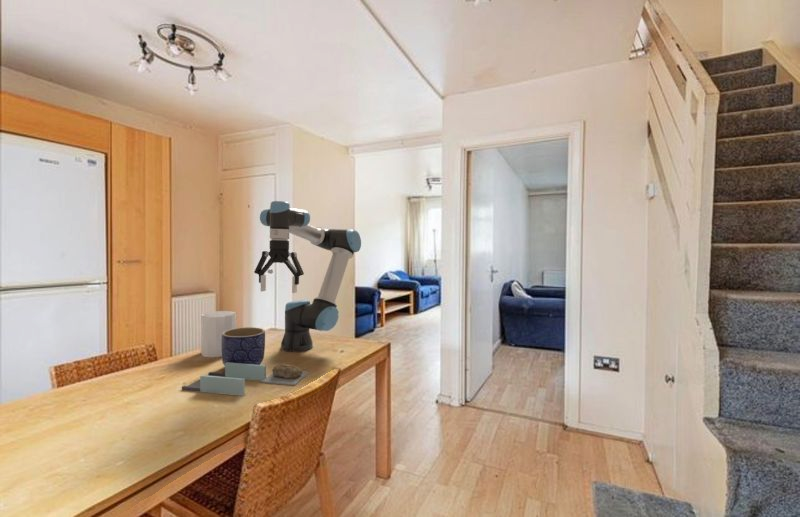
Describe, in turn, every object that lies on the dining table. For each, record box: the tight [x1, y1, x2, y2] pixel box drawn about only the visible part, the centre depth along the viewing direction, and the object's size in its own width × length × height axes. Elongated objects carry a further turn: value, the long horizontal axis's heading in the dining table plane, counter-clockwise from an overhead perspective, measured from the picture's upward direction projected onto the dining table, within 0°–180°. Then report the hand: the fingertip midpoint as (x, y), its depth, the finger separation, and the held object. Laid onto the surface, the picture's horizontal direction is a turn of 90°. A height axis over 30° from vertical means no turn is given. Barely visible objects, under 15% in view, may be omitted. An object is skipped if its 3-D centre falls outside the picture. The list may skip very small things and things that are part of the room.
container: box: [200, 310, 237, 358], centre depth 172 cm, size 14×14×18 cm
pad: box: [261, 371, 310, 387], centre depth 143 cm, size 13×13×1 cm
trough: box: [181, 362, 267, 397], centre depth 134 cm, size 15×23×6 cm, turn 81°
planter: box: [221, 326, 266, 367], centre depth 153 cm, size 17×17×15 cm
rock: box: [271, 363, 304, 379], centre depth 143 cm, size 8×11×4 cm
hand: (278, 291), depth 151 cm, fingers open, 13 cm apart
